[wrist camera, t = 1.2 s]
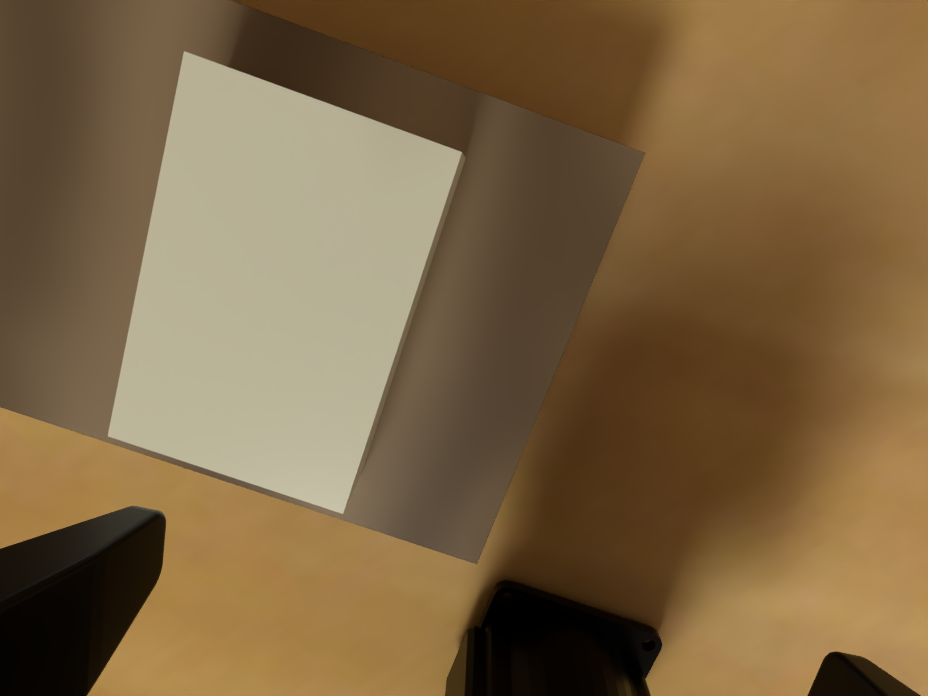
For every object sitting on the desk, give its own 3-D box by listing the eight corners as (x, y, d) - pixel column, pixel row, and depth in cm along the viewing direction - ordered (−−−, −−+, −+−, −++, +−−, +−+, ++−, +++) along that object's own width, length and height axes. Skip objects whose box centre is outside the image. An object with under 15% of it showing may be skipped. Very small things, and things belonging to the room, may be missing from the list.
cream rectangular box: (466, 158, 14) (461, 152, 12) (360, 476, 16) (343, 514, 14) (226, 70, 14) (184, 50, 12) (153, 407, 16) (107, 436, 14)
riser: (611, 162, 18) (645, 153, 14) (479, 495, 21) (476, 564, 17) (100, -26, 17) (-15, -90, 13) (40, 348, 20) (-67, 385, 16)
